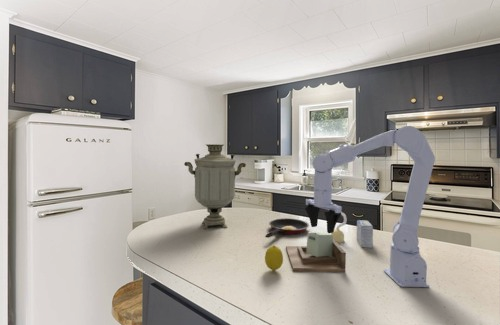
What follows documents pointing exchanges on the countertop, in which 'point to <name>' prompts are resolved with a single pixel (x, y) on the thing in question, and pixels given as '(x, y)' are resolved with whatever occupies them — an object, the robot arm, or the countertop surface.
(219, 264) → the countertop surface
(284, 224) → the frying pan
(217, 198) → the samovar
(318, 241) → the pale green block
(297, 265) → the brown wooden stand
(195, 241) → the countertop surface
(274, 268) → the lemon
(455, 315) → the countertop surface
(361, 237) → the medicine box
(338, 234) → the yellow stemmed oval
